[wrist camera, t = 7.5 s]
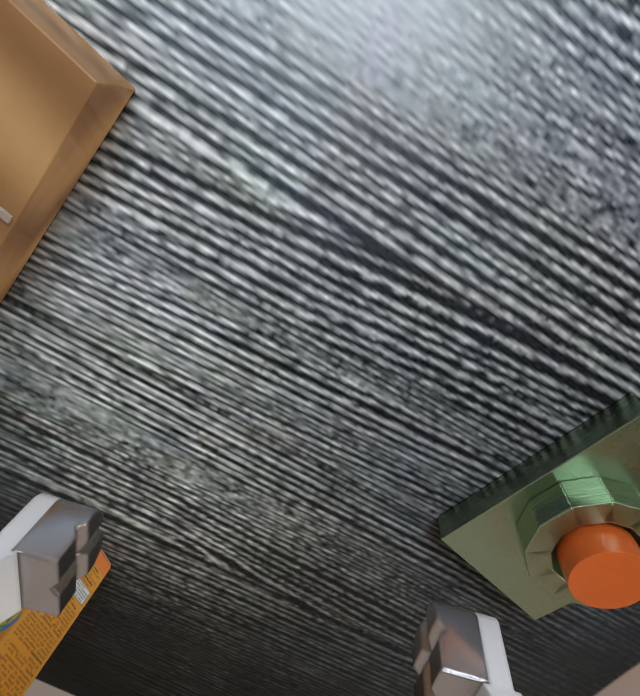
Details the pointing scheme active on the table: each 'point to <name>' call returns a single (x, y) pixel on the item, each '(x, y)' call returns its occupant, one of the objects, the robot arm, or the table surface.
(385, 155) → the table surface
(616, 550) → the button
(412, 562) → the table surface
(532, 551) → the button box
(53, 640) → the supplement box
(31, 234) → the control panel
